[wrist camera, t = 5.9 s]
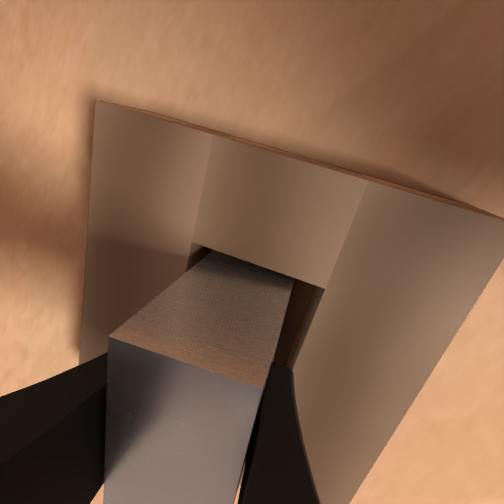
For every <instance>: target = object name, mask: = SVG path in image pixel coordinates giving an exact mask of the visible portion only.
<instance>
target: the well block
mask: <svg viewBox="0 0 504 504" xmlns="http://www.w3.org/2000/svg"><path fill="white" fill-rule="evenodd" d="M213 250H216V251H219V252H222V253H225V254H228V255H230V256H233V257H236V258H239V259H242V260H245V261H248V262H250V263H253V264H256V265H259V266H262V267H265V268H267V269H270V270H273V271H276V272H279V273H282V274H285V275H287V276H290V277H293V278H296V279H299V280H302V281H304V282H307V283H310V284H313V285H316V287H315V290H314V292H313V295H312V297H311V300H310V302H309V305H308V308H307V310H306V313H305V315H304V318H303V320H302V323H301V326H300V328H299V331H298V333H297V336H296V338H295V341H294V344H293V346H292V349H291V351H290V354H289V356H288V359H287V361H286V364H285V367H287V368H291V369H292V371H293V373H294V390H295V399H296V405H297V412H298V417H299V422H300V427H301V432H302V437H303V441H304V446H305V450H306V454H307V458H308V461H309V465H310V469H311V472H312V476H313V480H314V483H315V487H316V490H317V493H318V496H319V500H320V503H321V504H349V503H350V501H351V500H352V498H353V497H354V495H355V494H356V492H357V490H358V489H359V487H360V486H361V484H362V482H363V481H364V479H365V478H366V476H367V474H368V473H369V471H370V470H371V468H372V467H373V465H374V463H375V462H376V460H377V459H378V457H379V455H380V454H381V452H382V451H383V449H384V447H385V446H386V444H387V443H388V441H389V439H390V438H391V436H392V435H393V433H394V432H395V430H396V428H397V427H398V425H399V424H400V422H401V420H402V419H403V417H404V416H405V414H406V412H407V411H408V409H409V408H410V406H411V405H412V403H413V401H414V400H415V398H416V397H417V395H418V393H419V392H420V390H421V389H422V387H423V385H424V384H425V382H426V381H427V379H428V378H429V376H430V374H431V373H432V371H433V370H434V368H435V366H436V365H437V363H438V362H439V360H440V358H441V357H442V355H443V354H444V352H445V351H446V349H447V347H448V346H449V344H450V343H451V341H452V339H453V338H454V336H455V335H456V333H457V331H458V330H459V328H460V327H461V325H462V324H463V322H464V320H465V319H466V317H467V316H468V314H469V312H470V311H471V309H472V308H473V306H474V304H475V303H476V301H477V300H478V298H479V296H480V295H481V293H482V292H483V290H484V289H485V287H486V285H487V284H488V282H489V281H490V279H491V277H492V276H493V274H494V273H495V271H496V269H497V268H498V266H499V265H500V263H501V262H502V260H503V258H504V218H501V217H499V216H496V215H494V214H491V213H489V212H486V211H484V210H481V209H479V208H476V207H474V206H470V205H467V204H463V203H460V202H457V201H453V200H450V199H446V198H443V197H440V196H436V195H433V194H429V193H426V192H422V191H419V190H416V189H412V188H409V187H405V186H402V185H399V184H395V183H392V182H388V181H385V180H382V179H378V178H375V177H371V176H368V175H365V174H361V173H358V172H354V171H351V170H347V169H344V168H341V167H337V166H334V165H330V164H327V163H324V162H320V161H317V160H313V159H310V158H307V157H303V156H300V155H296V154H293V153H289V152H286V151H283V150H279V149H276V148H272V147H269V146H266V145H262V144H259V143H255V142H252V141H249V140H245V139H242V138H238V137H235V136H232V135H228V134H225V133H221V132H218V131H214V130H211V129H208V128H204V127H201V126H197V125H194V124H191V123H187V122H184V121H180V120H177V119H174V118H170V117H167V116H163V115H160V114H156V113H153V112H150V111H146V110H141V109H136V108H131V107H126V106H122V105H117V104H112V103H107V102H102V101H97V100H96V101H95V117H94V133H93V149H92V165H91V181H90V197H89V213H88V228H87V244H86V260H85V276H84V292H83V308H82V324H81V340H80V355H79V365H81V364H83V363H85V362H88V361H90V360H92V359H94V358H96V357H98V356H100V355H102V354H104V353H106V352H108V336H109V335H110V334H112V333H113V332H114V331H115V330H117V329H118V328H119V327H120V326H121V325H123V324H124V323H125V322H126V321H128V320H129V319H130V318H131V317H132V316H134V315H135V314H136V313H137V312H138V311H140V310H141V309H142V308H143V307H145V306H146V305H147V304H148V303H149V302H151V301H152V300H153V299H154V298H156V297H157V296H158V295H159V294H160V293H162V292H163V291H164V290H165V289H167V288H168V287H169V286H170V285H171V284H173V283H174V282H175V281H176V280H177V279H179V278H180V277H181V276H182V275H184V274H185V273H186V272H187V271H188V270H190V269H191V268H192V267H193V266H195V265H196V264H197V263H198V262H199V261H201V260H202V259H203V258H204V257H206V256H207V255H208V254H209V253H210V252H212V251H213ZM244 467H245V466H244ZM243 472H244V469H243ZM242 478H243V473H242V477H241V480H240V485H241V483H242Z"/></svg>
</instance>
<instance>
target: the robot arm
mask: <svg viewBox="0 0 504 504" xmlns="http://www.w3.org/2000/svg"><path fill="white" fill-rule="evenodd" d="M107 360H108V352H106V353H104V354H102V355H100V356H98V357H96V358H94V359H92V360H90V361H88V362H85V363H83V364H81V365H79V366H76V367H74V368H72V369H70V370H67V371H65V372H63V373H61V374H58V375H56V376H54V377H51V378H49V379H47V380H44V381H42V382H39V383H37V384H34V385H31V386H29V387H26V388H23V389H21V390H18V391H15V392H12V393H10V394H7V395H4V396H1V397H0V504H90V503H91V501H92V500H93V498H94V497H95V495H96V494H97V492H98V491H99V489H100V488H101V486H102V485H103V483H104V465H105V430H106V395H107ZM238 504H321V503H320V500H319V496H318V493H317V490H316V487H315V483H314V480H313V476H312V472H311V469H310V465H309V461H308V458H307V454H306V450H305V446H304V441H303V437H302V432H301V427H300V422H299V417H298V412H297V405H296V399H295V390H294V373H293V371H292V369H291V368H287V367H284V366H281V365H278V364H275V363H271V366H270V370H269V373H268V377H267V380H266V384H265V387H264V391H263V395H262V399H261V403H260V407H259V411H258V414H257V418H256V422H255V426H254V430H253V434H252V438H251V442H250V445H249V449H248V453H247V457H246V462H245V467H244V472H243V478H242V483H241V488H240V494H239V499H238Z"/></svg>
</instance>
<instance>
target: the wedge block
mask: <svg viewBox="0 0 504 504" xmlns="http://www.w3.org/2000/svg"><path fill="white" fill-rule="evenodd" d="M294 279H295V278H293V277H290V276H287V275H285V274H282V273H279V272H276V271H273V270H270V269H267V268H265V267H262V266H259V265H256V264H253V263H250V262H248V261H245V260H242V259H239V258H236V257H233V256H230V255H228V254H225V253H222V252H219V251H216V250H213V251H212V252H210V253H209V254H208V255H207V256H206V257H204V258H203V259H202V260H201V261H199V262H198V263H197V264H196V265H195V266H193V267H192V268H191V269H190V270H188V271H187V272H186V273H185V274H184V275H182V276H181V277H180V278H179V279H177V280H176V281H175V282H174V283H173V284H171V285H170V286H169V287H168V288H167V289H165V290H164V291H163V292H162V293H160V294H159V295H158V296H157V297H156V298H154V299H153V300H152V301H151V302H149V303H148V304H147V305H146V306H145V307H143V308H142V309H141V310H140V311H138V312H137V313H136V314H135V315H134V316H132V317H131V318H130V319H129V320H128V321H126V322H125V323H124V324H123V325H121V326H120V327H119V328H118V329H117V330H115V331H114V332H113V333H112V334H110V335H109V336H108V360H107V395H106V430H105V465H104V500H103V504H234V502H235V498H236V495H237V491H238V487H239V484H240V480H241V477H242V473H243V469H244V466H245V462H246V457H247V453H248V449H249V445H250V442H251V438H252V434H253V430H254V426H255V422H256V418H257V414H258V411H259V407H260V403H261V399H262V395H263V391H264V387H265V384H266V380H267V377H268V373H269V370H270V366H271V363H273V359H274V356H275V352H276V348H277V344H278V340H279V336H280V333H281V329H282V325H283V321H284V317H285V313H286V310H287V306H288V302H289V298H290V294H291V290H292V287H293V283H294Z"/></svg>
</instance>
